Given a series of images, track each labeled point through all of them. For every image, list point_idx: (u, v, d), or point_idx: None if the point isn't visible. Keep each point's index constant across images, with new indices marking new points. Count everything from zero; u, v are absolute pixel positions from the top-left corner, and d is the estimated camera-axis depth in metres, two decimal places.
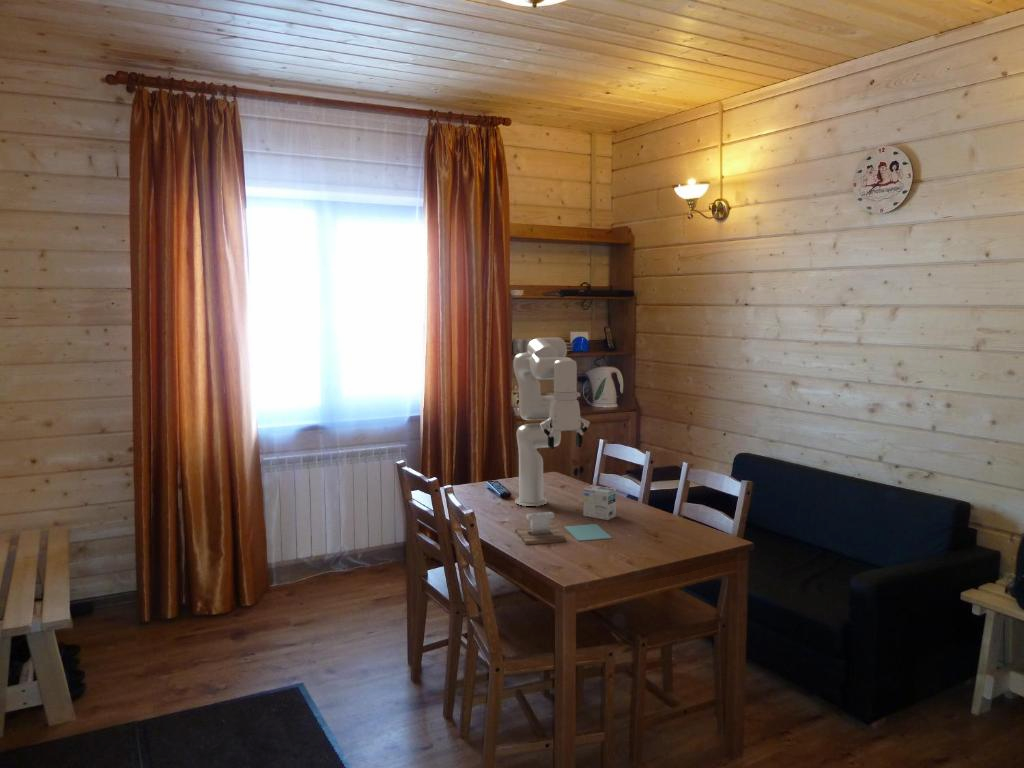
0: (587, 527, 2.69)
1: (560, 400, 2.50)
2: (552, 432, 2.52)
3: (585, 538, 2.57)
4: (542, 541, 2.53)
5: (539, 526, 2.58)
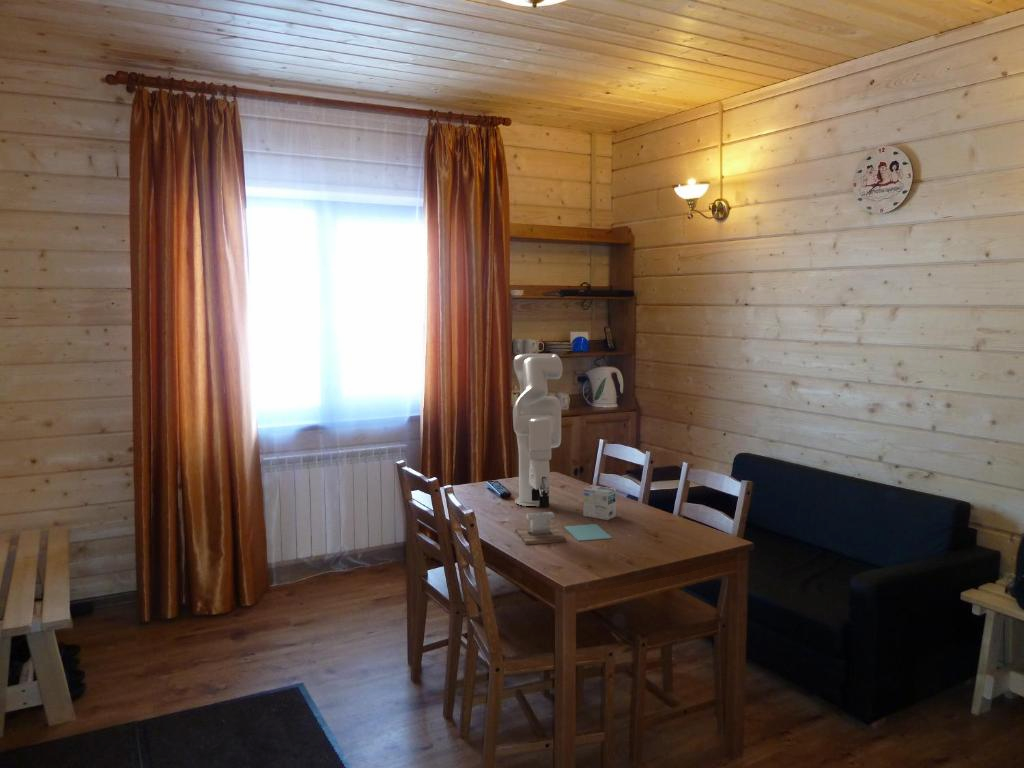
0: (587, 527, 2.69)
1: (549, 457, 2.55)
2: None
3: (585, 538, 2.57)
4: (542, 541, 2.53)
5: (539, 526, 2.58)
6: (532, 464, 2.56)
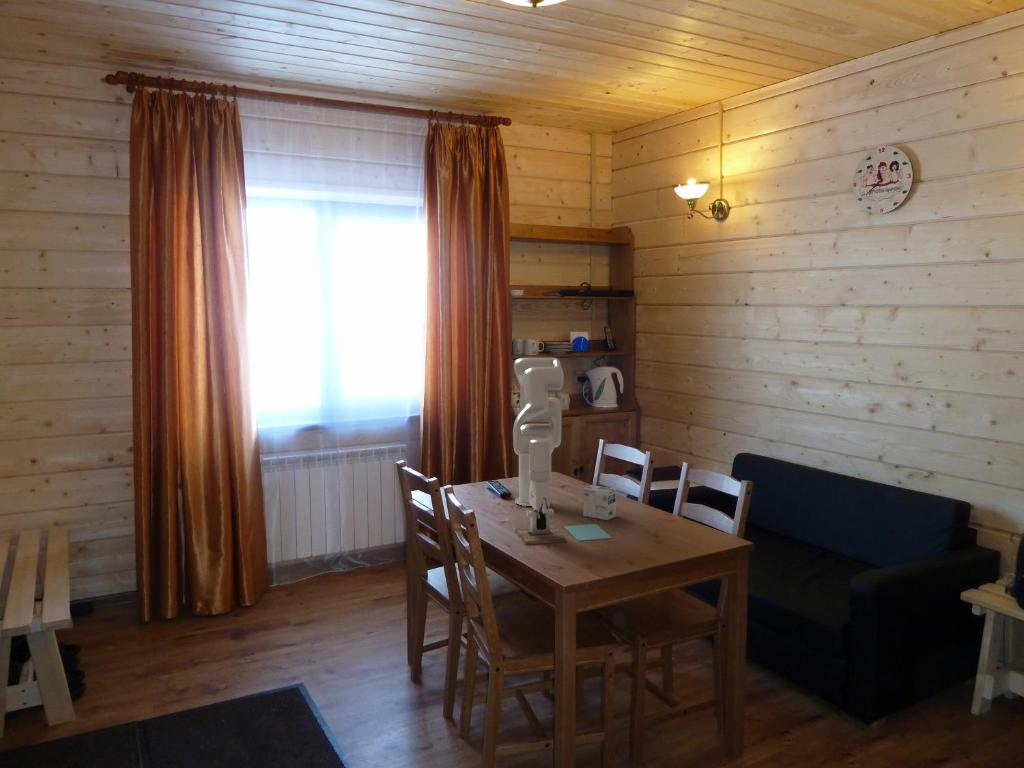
0: (587, 527, 2.69)
1: (549, 478, 2.56)
2: None
3: (585, 538, 2.57)
4: (542, 541, 2.53)
5: None
6: (532, 485, 2.57)
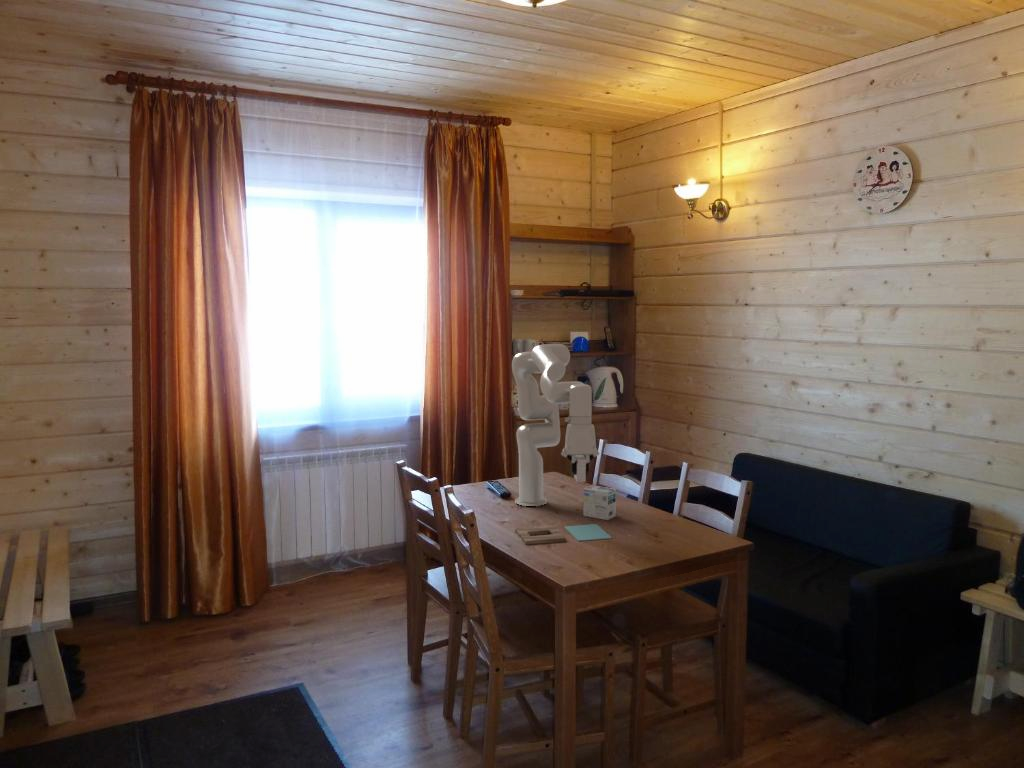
0: (587, 527, 2.69)
1: None
2: None
3: (585, 538, 2.57)
4: (542, 541, 2.53)
5: None
6: (582, 431, 2.56)
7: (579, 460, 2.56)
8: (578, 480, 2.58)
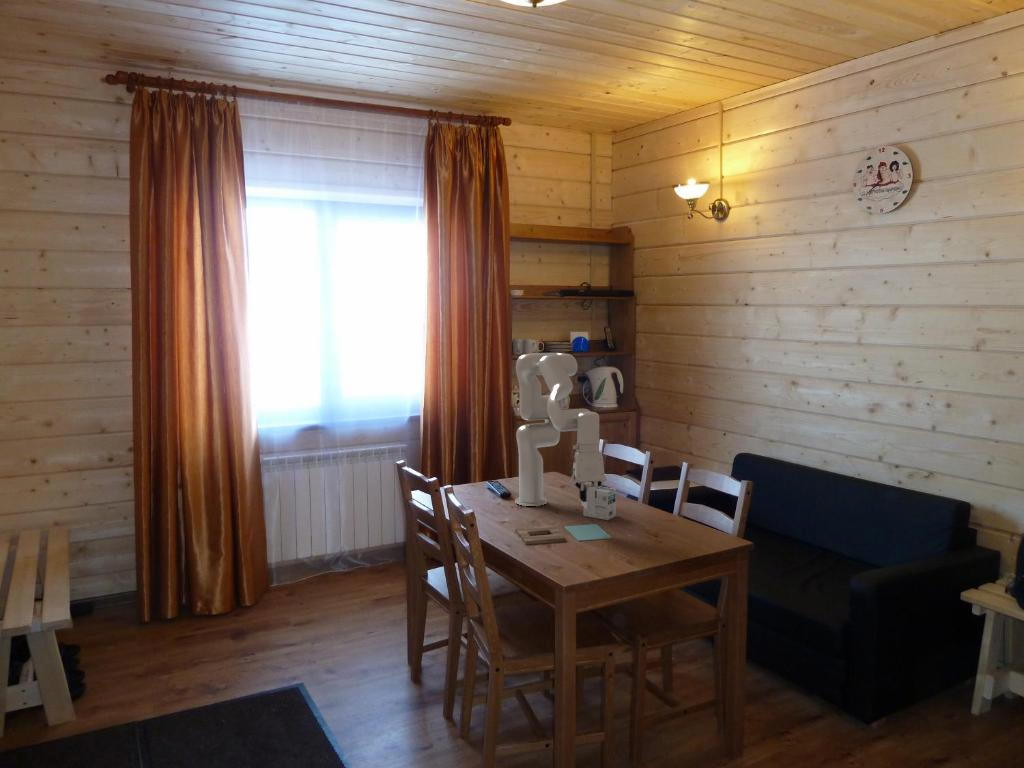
0: (587, 527, 2.69)
1: None
2: None
3: (585, 538, 2.57)
4: (542, 541, 2.53)
5: None
6: (591, 458, 2.58)
7: (590, 487, 2.57)
8: (588, 507, 2.59)
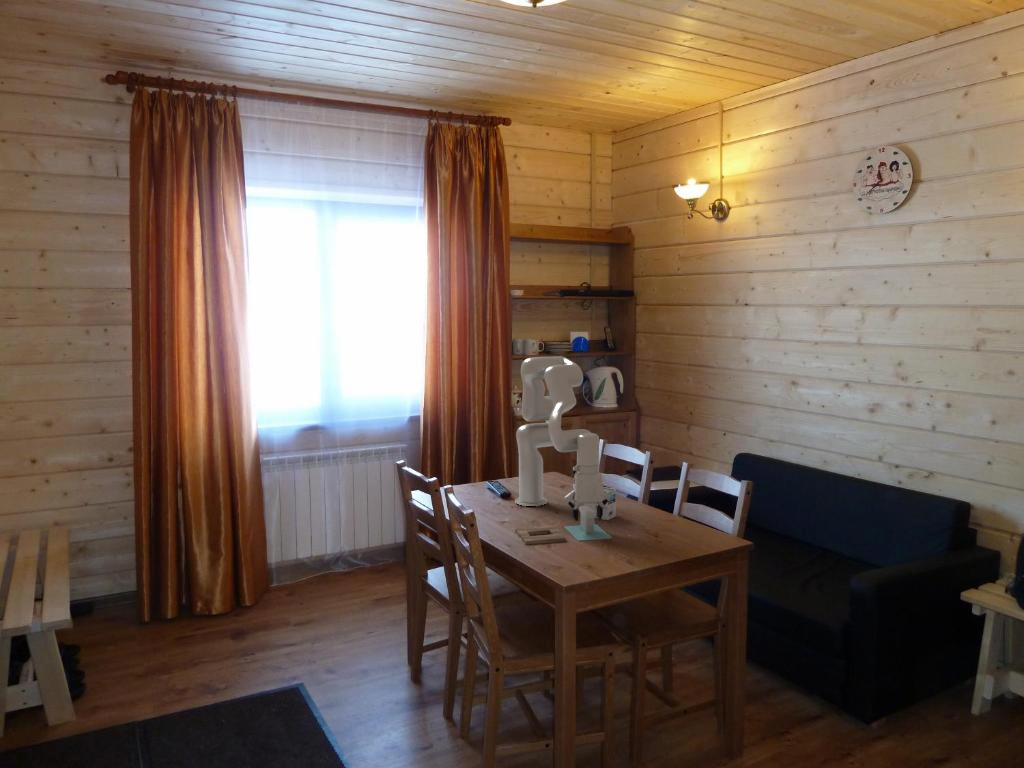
0: None
1: None
2: None
3: (585, 538, 2.57)
4: (542, 541, 2.53)
5: None
6: (591, 480, 2.59)
7: (589, 514, 2.58)
8: (587, 533, 2.61)
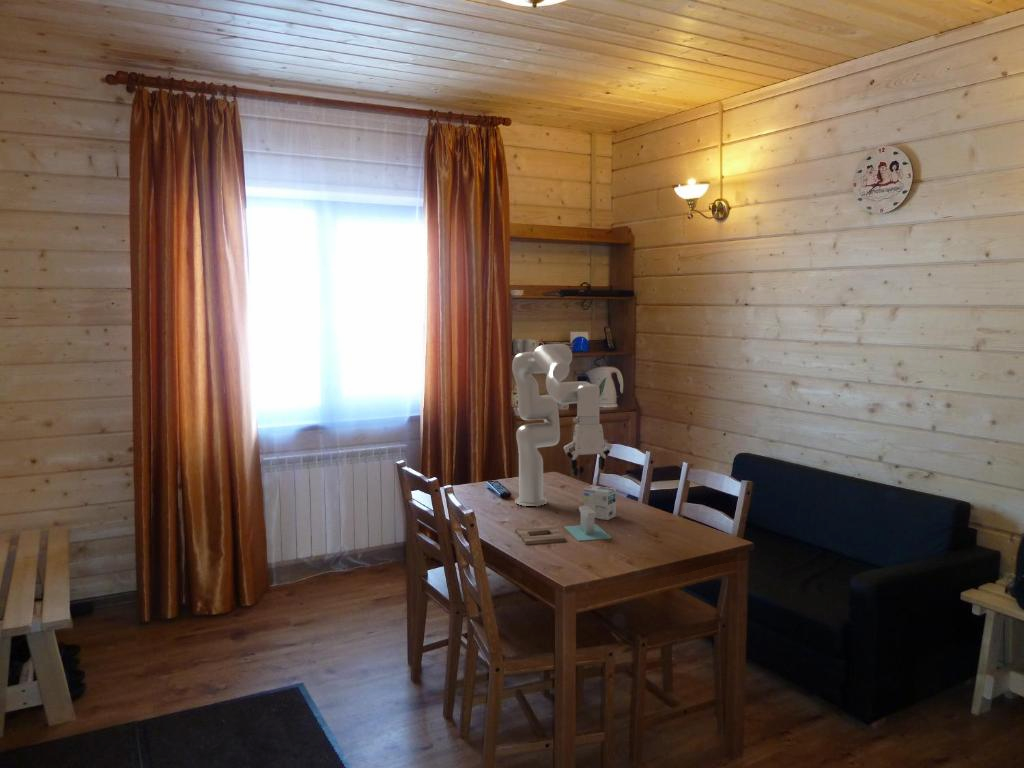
0: None
1: None
2: None
3: (585, 538, 2.57)
4: (542, 541, 2.53)
5: None
6: (591, 431, 2.57)
7: (589, 514, 2.58)
8: (587, 533, 2.61)
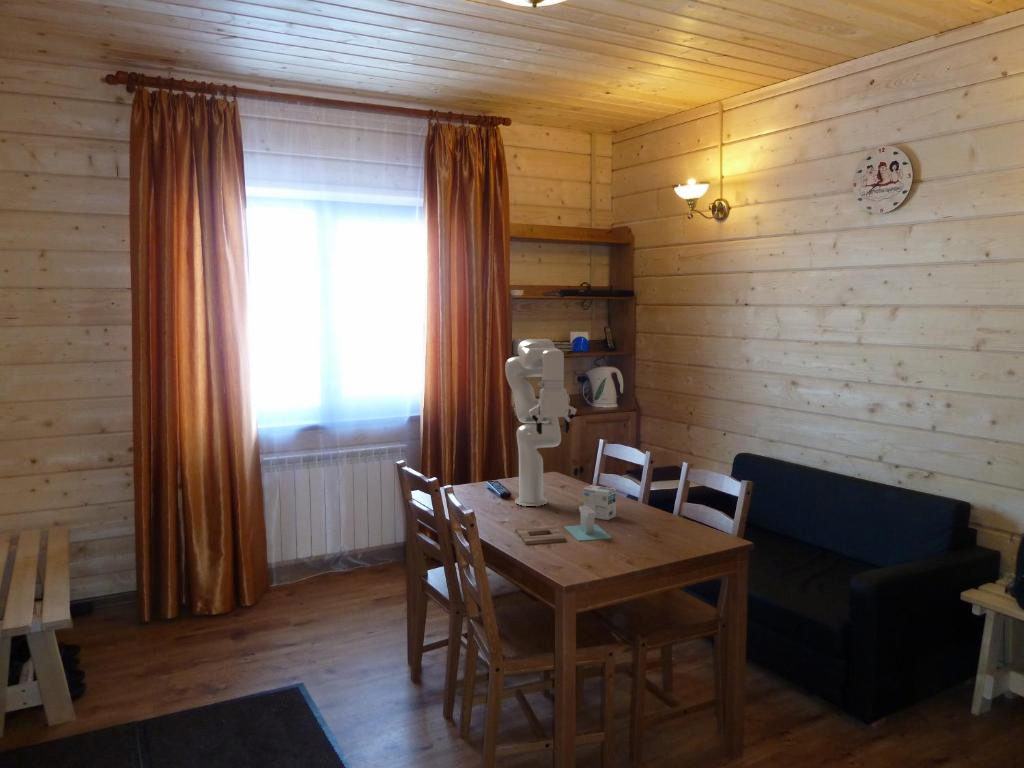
0: None
1: None
2: None
3: (585, 538, 2.57)
4: (542, 541, 2.53)
5: None
6: (556, 395, 2.65)
7: (589, 514, 2.58)
8: (587, 533, 2.61)
